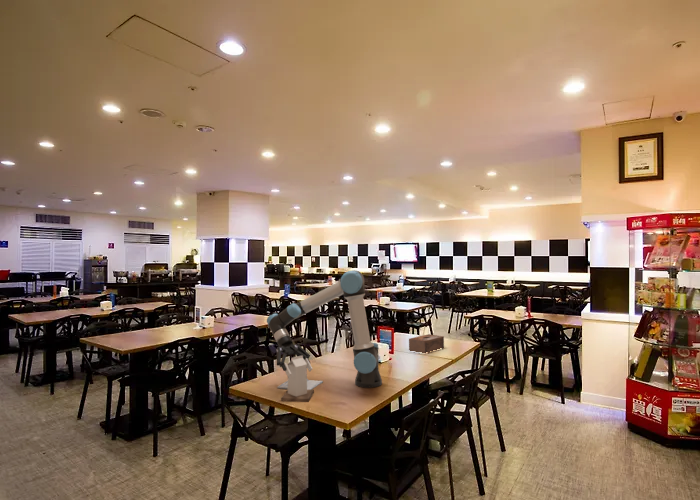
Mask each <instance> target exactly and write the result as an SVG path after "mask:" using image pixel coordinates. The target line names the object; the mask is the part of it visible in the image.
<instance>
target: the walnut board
mask: <svg viewBox="0 0 700 500" xmlns="http://www.w3.org/2000/svg"><path fill="white" fill-rule="evenodd" d="M314 393H315V389H312V390H307V394H304V395H300V396H297V397H296V396H293V395H290V394H288V389H286V391H285V392H284V394H283V395H282V397H281V398H280V402H302V403H303V402H304V403H309V402H310V401H311V399H312V397H313V395H314Z"/></svg>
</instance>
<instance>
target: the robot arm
mask: <svg viewBox="0 0 700 500" xmlns="http://www.w3.org/2000/svg"><path fill="white" fill-rule="evenodd" d="M365 282H366V281H365V276H364V275H363V273H362V272H361V271H358V270H355V269H354V270H348V271H345V272H344V273H343V275H341V277H340V278H339V279H338V281H337V282H336V283H333V284H332V285H329V286H328V287H326V288H324V289H321V290H320V291H318V292H316V293H315V294H312V295H311V296H309V297H307V298H304V299H303V300H301V301H298V302H297V303H294V302H293V303H291V304H290V305H288V306H287V307H286V308H285V309H283V310H282V311H281V312H280V313H272V314H270V315H269V316H267V319H266V323H267V326H268V328H269V329H270V331H271V333H272V336H273V337H274V340H275V342H276V344H277V345H278V346H277V348H276V350H275V352H276V366H277V367H278V366H279V367H280V368H281V369H282V370H283V372H285V374H286V376H287V378H288V377H289V376H290V375H291V372H290V370H289V368H288V364H287V362H285V361H286V358H287V356H290V355H295V356H296V357H297V356H302V355H303V359H304V360H305V362H306V364H307V371H308V372H311V371H312V370H313V367H312V365H311V361H310V359H309V358H310V357H311V354H310V353H308V352H307V351H306V350H305V349H304V348H303V347H302V346H301V345H300V343H296V344H294V343H293V339H292V338H291V335H290V334H289V332H288V330H287V328H286V326H288V325H289V324H290V323H292V322H293V321H294V320H295V319H298V318H300V317H302V316H303V315H305V314H307V313H310V312H311V311H313V310H315V309H317V308H319V307H322V306H323V305H325V304H327V303H329V302H331V301H333V300H335V299H337V298H338V297H341V296H343V298H344V299H346V300H347V306H348V311H349V317H350V323H351V329H352V335H353V341H354V345H353V347H352V353H353V366H354V368H355V370H356V371H357V372H356V375H355V380H354V385H355V386H356V387H357V386H358V387H360V388H365V389H366V388H370V389H371V388H377V387H381V386H382V384H383V381H382V380H383V379H382V376H381V374H380V373H381V372H380V369H379V344H378V342H372V341H371V336H370V331H369V330H370V329H369V325H368V324H369V323H368V319H367V318H368V317H367V312H366V308H365V307H366V306H365V300H364V297H365V295H366V289H365ZM281 354H282V355H281Z"/></svg>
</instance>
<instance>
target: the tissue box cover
mask: <svg viewBox="0 0 700 500" xmlns="http://www.w3.org/2000/svg"><path fill="white" fill-rule="evenodd" d="M444 340H445V336H443V335H437V334H436V335H435V334H429V333H428V334H424V335H418V336H414V337H410V338H408V351H409V350H410V351H416V352H422V353H426V352H430V351H433V350H437V349H440V348H444V349H445V341H444Z"/></svg>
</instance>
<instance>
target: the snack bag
mask: <svg viewBox="0 0 700 500" xmlns="http://www.w3.org/2000/svg"><path fill="white" fill-rule="evenodd" d="M323 383H324V380H314V379H308V378H307V390H314V388H316V387H318V386H319V385H321V384H323ZM276 388H277V389H280V390H288V380H286V381H285V382H283V383H281V384H279V385H277V387H276Z"/></svg>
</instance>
